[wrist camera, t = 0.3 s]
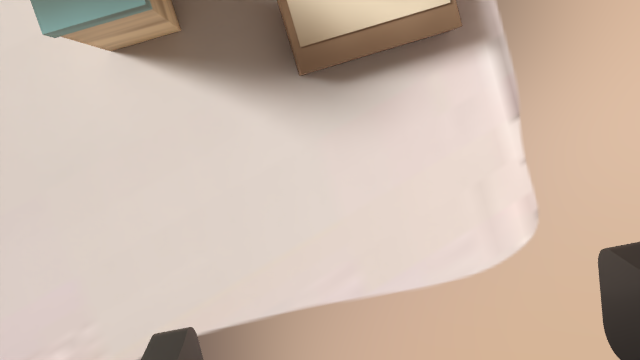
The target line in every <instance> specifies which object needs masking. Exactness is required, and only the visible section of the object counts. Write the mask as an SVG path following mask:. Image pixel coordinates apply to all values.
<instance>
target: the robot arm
mask: <svg viewBox="0 0 640 360" xmlns="http://www.w3.org/2000/svg"><path fill="white" fill-rule="evenodd" d="M598 268H599V279H600V291H601V302H602V314H603V325H604V329H605V334H606V337H607V340H608V342H609V344H610V346H611V348H612V350H613V351H614V353H615V354H616V355H617V356H618V357H619V358H620V359H621V360H640V242H637V243H631V244H626V245H621V246H616V247H610V248H605V249H603V250H601V251H600V254H599V258H598ZM141 360H203V357H202V353H201V349H200V345H199V341H198V337H197V334H196V332H195V330H194V329H193V328H192V327H188V328H183V329H178V330H173V331H168V332H162V333H157V334H154V335H153V336H152V338H151V340H150V342H149V344H148V346H147V348H146V350H145V352H144V354H143V357H142V359H141Z"/></svg>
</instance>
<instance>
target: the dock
mask: <svg viewBox="0 0 640 360" xmlns="http://www.w3.org/2000/svg"><path fill="white" fill-rule="evenodd" d="M277 2H278V5H279V9H280V12H281V15H282V19H283V22H284V26H285V29H286V32H287V36H288V39H289V42H290V46H291V49H292V52H293V56H294V59H295V62H296V66H297V69H298V72H299V76H301V75H305V74H308V73H311V72H315V71H318V70H321V69H325V68H328V67H331V66H335V65H338V64H341V63H345V62H348V61H351V60H355V59H358V58H361V57H365V56H368V55H371V54H375V53H378V52H381V51H385V50H388V49H391V48H395V47H398V46H402V45H405V44H408V43H412V42H415V41H418V40H422V39H425V38H428V37H432V36H435V35H438V34H442V33H445V32H448V31H451V30H453V29H456V28H459V27H461V26H462V23H461V19H460V15H459V11H458V7H457V3H456V0H277Z"/></svg>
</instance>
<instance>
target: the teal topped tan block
mask: <svg viewBox="0 0 640 360" xmlns="http://www.w3.org/2000/svg"><path fill="white" fill-rule="evenodd" d="M30 1H31V3H32V6H33V9H34V12H35V14H36V17H37V20H38V23H39V26H40V28H41V31H42V34H43V35H46V36H50V37H54V38H56V37H60V36H61V37H64V38H68V39H71V40H74V41H78V42H81V43H85V44H88V45H91V46H95V47H98V48H102V49H105V50H108V51H114V50H117V49H120V48H124V47H127V46H130V45H134V44H137V43H141V42H144V41H147V40H151V39H154V38H158V37H161V36H164V35H168V34H171V33H175V32H178V31H181V29H180V26H179V23H178V20H177V17H176V13H175V10H174V7H173V4H172V1H171V0H30Z"/></svg>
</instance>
